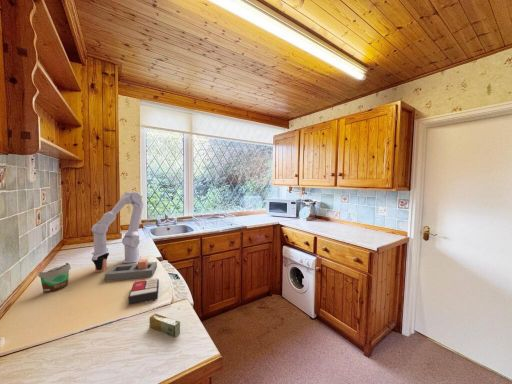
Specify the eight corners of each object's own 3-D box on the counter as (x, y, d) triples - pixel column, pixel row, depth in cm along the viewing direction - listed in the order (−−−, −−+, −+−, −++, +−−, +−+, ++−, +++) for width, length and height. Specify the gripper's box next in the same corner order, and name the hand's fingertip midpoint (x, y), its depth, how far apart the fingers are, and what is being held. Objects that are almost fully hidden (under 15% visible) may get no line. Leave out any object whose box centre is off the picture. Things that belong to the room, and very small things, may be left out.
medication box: (180, 332, 73) (180, 321, 73) (174, 338, 71) (174, 326, 71) (155, 323, 78) (155, 312, 78) (148, 328, 75) (148, 316, 75)
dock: (114, 271, 121) (114, 259, 120) (157, 267, 126) (156, 255, 126) (105, 281, 109) (104, 267, 109) (152, 276, 114) (151, 263, 114)
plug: (98, 269, 123) (98, 259, 123) (106, 268, 124) (106, 258, 124) (95, 272, 119) (95, 261, 119) (103, 271, 120) (103, 261, 120)
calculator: (158, 277, 107) (157, 290, 93) (158, 285, 107) (157, 300, 93) (133, 281, 102) (128, 295, 89) (133, 290, 103) (128, 305, 89)
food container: (50, 295, 95) (48, 274, 95) (39, 294, 97) (38, 272, 96) (78, 282, 107) (77, 263, 107) (68, 281, 109) (67, 262, 108)
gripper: (98, 241, 127) (99, 263, 128) (85, 249, 113) (86, 274, 114) (111, 240, 129) (112, 262, 129) (100, 248, 115) (101, 272, 115)
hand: (101, 267), depth 122 cm, fingers closed on plug, 4 cm apart
